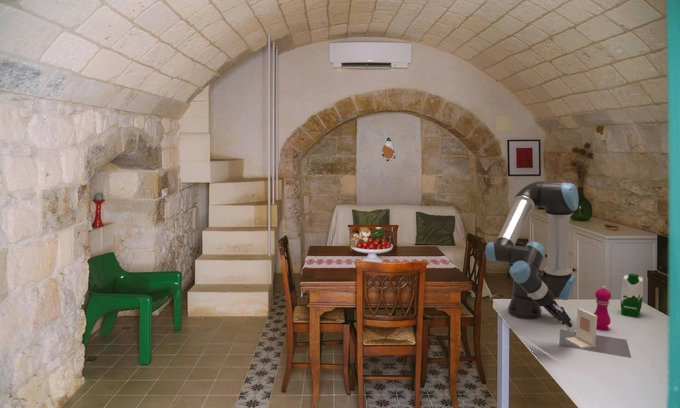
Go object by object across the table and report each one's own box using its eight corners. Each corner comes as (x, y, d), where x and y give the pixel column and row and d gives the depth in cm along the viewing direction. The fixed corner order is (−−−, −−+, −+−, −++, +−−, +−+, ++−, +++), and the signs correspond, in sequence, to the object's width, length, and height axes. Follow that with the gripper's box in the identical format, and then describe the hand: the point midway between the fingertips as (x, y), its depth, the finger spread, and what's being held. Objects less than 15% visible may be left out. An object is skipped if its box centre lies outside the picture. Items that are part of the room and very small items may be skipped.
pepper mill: (612, 333, 208) (615, 288, 206) (594, 332, 210) (597, 287, 207) (606, 327, 215) (610, 284, 213) (589, 326, 217) (592, 283, 214)
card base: (581, 349, 190) (581, 346, 190) (565, 339, 199) (565, 337, 199) (595, 347, 192) (596, 345, 192) (579, 338, 201) (579, 336, 201)
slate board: (560, 331, 211) (560, 329, 210) (626, 341, 200) (626, 339, 200) (558, 348, 194) (559, 345, 193) (631, 360, 183) (631, 357, 183)
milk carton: (619, 315, 231) (622, 274, 229) (620, 309, 239) (623, 270, 236) (640, 318, 227) (644, 277, 224) (641, 313, 234) (644, 273, 232)
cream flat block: (591, 345, 192) (594, 316, 190) (575, 336, 200) (577, 308, 199) (595, 344, 192) (597, 315, 190) (578, 336, 201) (580, 308, 199)
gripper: (522, 294, 193) (556, 331, 200) (544, 305, 181) (578, 343, 187) (535, 281, 194) (567, 317, 200) (557, 290, 182) (591, 329, 188)
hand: (573, 330), depth 194 cm, fingers closed
